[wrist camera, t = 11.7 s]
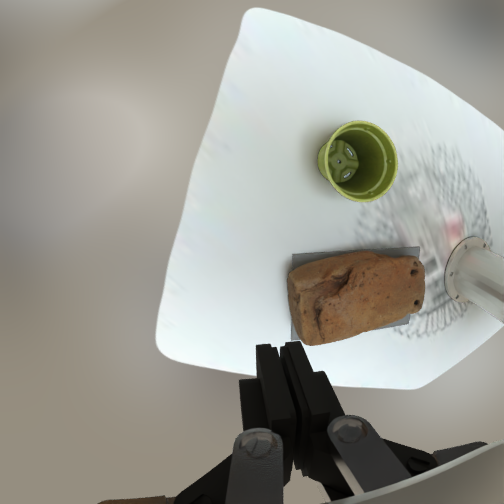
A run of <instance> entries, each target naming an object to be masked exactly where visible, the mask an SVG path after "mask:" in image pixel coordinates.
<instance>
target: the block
mask: <svg viewBox="0 0 504 504" xmlns="http://www.w3.org/2000/svg"><path fill="white" fill-rule="evenodd" d="M424 279H425V270H424V266H423V265H422V263H421V262H420V261H419V259H418V258H417V257H416V256H410V255H407V256H404V255H403V256H400V257H398V258H392V257H390V256H388V255H383V254H377V253H374V252H372V251H359V252H353V253H347V254H343V255H339V256H334V257H330V258H326V259H321V260H318V261H314V262H311V263H307V264H304V265H302V266H299V267H298V268H296V269H295V270H293V271H291V272H290V273H289V276H288V279H287V283H288V293H289V294H288V298H289V306H290V312H291V317H292V321H293V324H294V327H295V331H296V333H297V335H298V337H299V339H300V340H301V341H302V342H303V343H304V344H306V345H309V346H314V345H321V344H326V343H331V342H336V341H339V340H343V339H347V338H350V337H353V336H356V335H358V334H360V333H362V332H367V331H370V330H374V329H377V328H380V327H383V326H386V325H388V324H390V323H393V322H395V321H398V320H400V319H403V318H404V317H405V316H406V315H407V314H409V313H410V314H413V313H416V312H418V311H419V310H420V309H421V308H422V304H423V300H424V294H425V281H424Z"/></svg>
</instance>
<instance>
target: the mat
mask: <svg viewBox="0 0 504 504" xmlns="http://www.w3.org/2000/svg"><path fill="white" fill-rule="evenodd" d="M359 251H372V252H374V253H377V254H383V255H388V256H390V257H392V258H398V257H400V256H403V255H404V256H407V255H410V256H416V257H417V258H418V259H419V253H420V247H405V248H389V249H372V250H356V251H339V252H322V253H305V254H293V270H295V269H296V268H298V267H299V266H302V265H304V264H307V263H311V262H314V261H318V260H321V259H326V258H330V257H334V256H339V255H343V254H347V253H353V252H359ZM409 319H410V313H409V314H407V315H406V316H405V317H404V318H403V319H400V320H398V321H395V322H393V323H390V324H388V325H386V326H383V327H380V328H377V329H383V328H388V327H394V326H400V325H405V324H409ZM374 330H376V329H374ZM293 340H300V339H299V337H298V335H297V333H296V331H295V327H294V324H293V321H292V325H291V341H293Z"/></svg>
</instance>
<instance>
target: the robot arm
mask: <svg viewBox="0 0 504 504" xmlns="http://www.w3.org/2000/svg"><path fill="white" fill-rule="evenodd" d="M445 287H446V291H447V293H448V295H449V296H450V297H451V298H452V299H453V300H455V301H457V302H461V303H463V302H468V301H471V302H473V303H474V304H476V305H477V306H479V307H480V308H482V309H483V310H485V311H486V312H488V313H489V314H491V315H492V316H494V317H495V318H497V319H498V320H499V321H501V322H502V323H504V257H501V256H499V255H497V254H495V253H492V252H491V251H490V248H489V246H488V244H487V243H486V242H485V241H484V240H483V239H480V238H478V237H470V238H467V239H465V240H464V241H462V242H461V243H460V244H459V245H458V246H457V247H456V249H455V250H454V252H453V253H452V255H451V257H450V259H449V261H448V264H447V268H446V273H445ZM256 369H257V378H255V379H242V380H239V387H240V401H241V412H242V421H243V432H242V433H241V434H239V435H238V437H237V438H236V439H235V442H234V446H233V452H232V454H231V455H230V456H228V457H227V458H226V459H225V460H223V461H222V462H221V463H220V464H218V465H217V466H216V467H214V468H213V469H212V470H211V471H209V472H208V473H207V474H205V475H204V476H203V477H201V478H200V479H198V480H197V481H196V482H194V483H193V484H192V485H190V486H189V487H187V488H186V489H185V490H183V491H182V492H181V493H180V494H179V495H177V496H176V497H168V498H166V497H165V495H163V496H155V497H145V498H133V499H116V500H115V499H114V500H105V501H101V502H100V503H98V504H283V487H284V486H285V485H286V484H287V483H288V482H289V481H290V476H291V471H292V465H293V461H294V465H295V468H296V470H299V469H301V471H302V475H303V477H304V476H308V477H309V478H311V479H313V480H315V481H317V487H318V489H319V491H320V493H321V495H322V497H323V498H324V500H325V502H326V503H322V504H504V440H500V441H497V442H493V443H491V444H487V443H485V442H481V441H479V442H473V443H469V444H465V445H461V446H456V447H452V448H447V449H443V450H437V451H434V452H433V454H429V453H427V452H425V451H422V450H418V449H415V448H411V447H408V446H405V445H401V444H398V443H395V442H392V441H389V440H386V439H383V438H381V437H380V436H379V434H378V433H377V432H376V431H375V429H374V428H373V427H372V425H371V424H370V423H369V422H368V421H367V420H366V419H364V418H362V417H359V416H355V415H345V413H344V411H343V409H342V407H341V405H340V403H339V401H338V398H337V396H336V394H335V392H334V390H333V388H332V386H331V384H330V382H329V379H328V377H327V375H326V373H325V372H324V371H318V372H313V369H312V367H311V365H310V362H309V360H308V358H307V355H306V353H305V351H304V348H303V346H302V344H301V342H300V341H294V342H286V343H285V346H281V347H280V357H279V354H278V350H277V347H271V344H261V345H256Z"/></svg>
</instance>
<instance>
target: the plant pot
mask: <svg viewBox="0 0 504 504" xmlns="http://www.w3.org/2000/svg"><path fill="white" fill-rule="evenodd" d="M330 145H332V147H331V148H330ZM347 148H349V149H350V150H351V151H352V153H353V156H351V154H350V152H349V151H348V150H347ZM338 160H340V161H341V163H338V162H337V161H338ZM318 168H319V170H320V172H321V174H322V175H323V176H324V177H325V178H326V179H327V180H329V181H330V183H331V184H332V186H333V187H334V188H335V189H336V190H337V191H338V192H339V193H340V194H341V195H343V196H344V197H346V198H348V199H350V200H352V201H356V202H370V201H374V200H376V199H378V198H380V197H382V196H383V195H384V194H385V193H386V192H387V191H388V190H389V189H390V188H391V186H392V184H393V182H394V180H395V178H396V174H397V169H398V159H397V153H396V149H395V146H394V144H393V142H392V141H391V139H390V137H389V136H388V135H387V134H386V133H385V132H384V131H383V130H382V129H381V128H380V127H378V126H377V125H375V124H372V123H370V122H366V121H352V122H349V123H346V124H344V125H343V126H341V127H340V128H338V129H337V130H336V131H335V132H334V133H333V135H332V136H331V138H330V139H329V141H328V142H327V143H326V144H324V145H323V147H322V148H321V149H320V151H319V154H318ZM350 171H351V174H350V175H349V176H348V177H347V178H344V176H345V175H347V174H348V173H349V172H350Z"/></svg>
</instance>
